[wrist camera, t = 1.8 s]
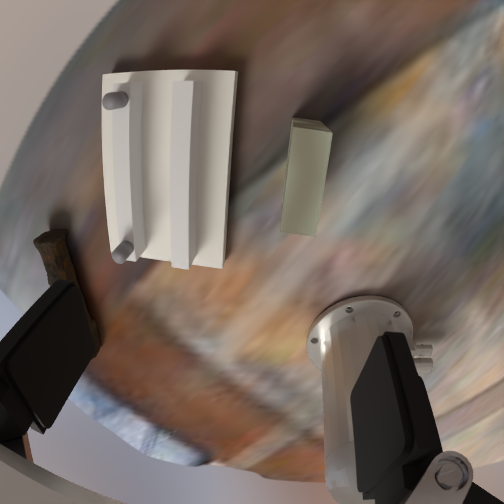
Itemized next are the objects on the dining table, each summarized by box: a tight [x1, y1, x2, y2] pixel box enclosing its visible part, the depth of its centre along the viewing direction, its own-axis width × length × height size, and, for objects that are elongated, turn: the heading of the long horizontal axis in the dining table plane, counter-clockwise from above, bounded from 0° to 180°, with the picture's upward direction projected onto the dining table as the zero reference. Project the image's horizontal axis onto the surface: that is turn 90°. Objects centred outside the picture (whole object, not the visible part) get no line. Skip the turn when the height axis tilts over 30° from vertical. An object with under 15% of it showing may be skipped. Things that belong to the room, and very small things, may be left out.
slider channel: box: [102, 70, 238, 269], centre depth 26 cm, size 12×18×6 cm, turn 175°
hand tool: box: [33, 229, 100, 360], centre depth 36 cm, size 19×4×5 cm, turn 0°
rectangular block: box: [280, 117, 333, 237], centre depth 23 cm, size 2×7×8 cm, turn 175°
